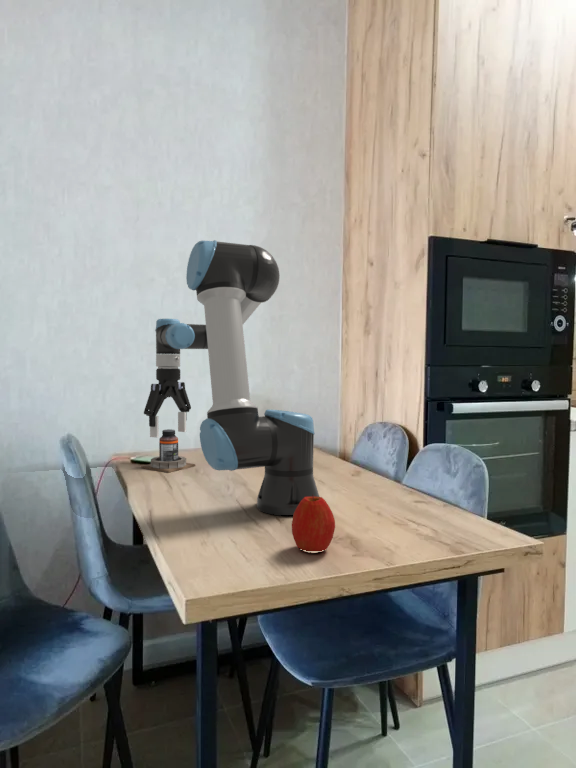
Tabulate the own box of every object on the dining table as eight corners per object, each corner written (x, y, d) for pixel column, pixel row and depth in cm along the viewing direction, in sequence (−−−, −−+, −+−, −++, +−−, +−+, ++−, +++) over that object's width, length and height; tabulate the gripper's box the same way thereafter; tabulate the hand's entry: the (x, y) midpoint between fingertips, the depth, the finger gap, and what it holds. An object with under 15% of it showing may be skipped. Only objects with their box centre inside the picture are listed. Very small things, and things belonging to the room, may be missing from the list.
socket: (168, 472, 166) (168, 464, 166) (141, 467, 172) (141, 459, 172) (195, 466, 176) (195, 458, 176) (168, 461, 182) (168, 454, 182)
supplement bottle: (163, 463, 177) (163, 428, 176) (180, 463, 176) (180, 429, 176) (156, 466, 171) (156, 431, 171) (174, 467, 170) (175, 431, 170)
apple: (332, 542, 107) (333, 488, 106) (337, 558, 98) (338, 499, 98) (290, 542, 106) (291, 488, 106) (292, 558, 98) (292, 499, 98)
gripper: (150, 368, 159) (151, 440, 160) (201, 367, 181) (201, 430, 183) (131, 368, 163) (132, 438, 164) (183, 367, 185) (183, 428, 186)
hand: (168, 434), depth 173 cm, fingers open, 13 cm apart
